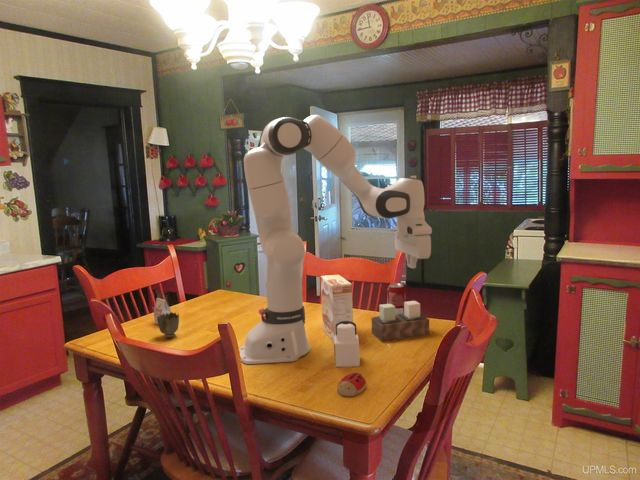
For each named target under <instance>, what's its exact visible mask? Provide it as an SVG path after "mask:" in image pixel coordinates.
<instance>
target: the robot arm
mask: <svg viewBox="0 0 640 480" xmlns="http://www.w3.org/2000/svg"><path fill="white" fill-rule="evenodd" d="M301 150H305V151H307V152H309V153H310V154H311V155H312V156H313V157H314V158H315V159H316V161H317V162H318V163H320V164H321V165H322V166H323V167H324V168H325V169H327V170H328V171H329V172H330V173H332V174H333V175H335V177H337V178H338V180H340V181H341V182H342V183H343V184H344V185H345V186H346V187H347V189H349V191H350V192H351V193H352V194H353V195H354V196H355V197H356V199H357V201H358V204H359V206H360V209H361V211H362V212H363V214H365V215H367V216H368V217H371V218H381V219H385V220H390V219H395V218H396V219H397V229H396V231H395V233H394V248H395V250H396V251H399V252H401V253H403V254H405V258H406V262H407V263H406V264H407V267H408V268H410V269H416V268H417V262H418V259H419V260H423V259H424V260H426V259H429V258H430V256H431V255H432V238H431V235H432V232H433V230H432V229H433V228H432V227H431V226H430V225H429V224H428V223H427V221H426V220H425V219H426V217H425V212H424V210H425V209H424V208H425V189H424V184H423V181H422V180H421V179H419V178H416V177H409V176H408V177H407V176H402V177H401V176H400V177H399V178H398V179H397V180H396V181H395V182H394V183H391V184H390V185H388V186H386V187H384V188H381V187H377V186H375V185H372V184H371V183H370V182H369V181H368V180H367V178H365V177H364V176H363V174H362V173H361V172H360V171H359V170H358V169H357V167H356V165H355V161H356V150H355V148H354V146H353V145H352V143H351V142H350V141H349V139H348V138H347V137H346V135H344V133H342V132H341V131H340V130H339V129H338V128H337V127H336V126H335V125H334V124H333V123H331V122H330V121H329V120H327V119H326V118H324V117H323V116H322V115H319V114H312V115H309V116H308V117H306V118H304V119H303V120H301V119H299V118H298V119H297V118H295V117H289V116H282V117H278V118H275V119H273V120H271V121H269V122H268V123H267V124H266V125H265V126H264V128H263V129H262V131H261V133H260V138H259V140H258V145H257V147H254V148H252V149H250V150H249V151H247V153H245V155H244V157H243V167H244V169H243V170H244V177H245V181H246V187H247V190H248V195H249V198H250V201H251V206H252V209H253V213H254V217H255V218H254V219H255V223H256V229H257V233H258V238H259V242H260V247H261V250H262V252H263V254H264V256H266V260H267V271H266V272H267V273H266V282H265V283H266V284H265V287H266V290H265V291H266V308H264V307H259V308H258V314H259V315H260V316H261V321H259V322H258V323H257V324H255V325H254V327H252V328H250V330H249V331H248V332H247V334H246V336H245V341H244V345H241V346H240V347H239V349H238V351H239V350H240V356H241V360H240V362H242V363H244V364H246V365H252V364H253V365H254V364H255V365H258V364H271V363H272V364H273V363H286V362H287V363H288V362H290V363H291V362H295V361H298V359H299V358H301V357H303V356H305V355H306V354H308V353H309V352H310V350H311V347H310V344H309V341H308V337H307V332H306V328H305V324H306V310H305V306H304V302H303V273H304V272H303V271H304V263H305V262H304V260H305V259H304V258H305V253H306V249H305V245H304V242H303V239H302V238H301V236H300V235H298V234H297V233H296V232H294V228H293V222H292V214H291V204H290V199H289V195H288V192H287V188H286V184H285V182H286V181H285V180H284V176H283V172H282V160H283V158H284V157H288V156H291V155H295V154H296V153H298V152H301Z"/></svg>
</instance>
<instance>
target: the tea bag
mask: <svg viewBox="0 0 640 480" xmlns="http://www.w3.org/2000/svg"><path fill="white" fill-rule="evenodd" d="M171 312H172V309H171V308H170V306H169V304H168V303H167V300H166V299H162V298H160V297H156V299H155V303H154V307H153V317H154V318H153V319H154V324H155V323H156V324H158V321H157V317H158V316H159V317H160V315H162V314H165V315H166V313H168V315H169V314H170V313H171ZM156 324H155V325H156Z"/></svg>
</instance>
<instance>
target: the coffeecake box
mask: <svg viewBox="0 0 640 480" xmlns="http://www.w3.org/2000/svg"><path fill="white" fill-rule="evenodd" d="M320 289H321V293H320V295H321V311H322V313H321V314H322V315H321V316H322V317H321V318H322V330H323V331H324V332H325V334H326V335H327V337H328V338H330V340H331V341H332V343H334V336H335V335H336V324H337V323H339V322H341V321H351V322H354V312H353V311H354V310H353V304H354V303H353V283H351V282H350V281H348V280H347V279H346V278H344V277H343V276H341V275H340V274H332V275H331V274H330V275H321V276H320Z"/></svg>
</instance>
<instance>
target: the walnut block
mask: <svg viewBox="0 0 640 480" xmlns="http://www.w3.org/2000/svg"><path fill="white" fill-rule="evenodd" d="M371 334H372V335H374V337H375V338H376V339H378V340H379V341H380V342H381V343H383V342H391V341H398V340H400V341H401V340H406V339H413V338H420V337H426V336H430V319H429V318H427V317H426V316H425V315H424V314H422V313H420V317H416V318H408V317H406V316H405V315H404V313H402V314H397V315H395V320H392V321H382V320H381V319H380V315H379V316H378V315H377V316H373V317H371Z"/></svg>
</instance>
